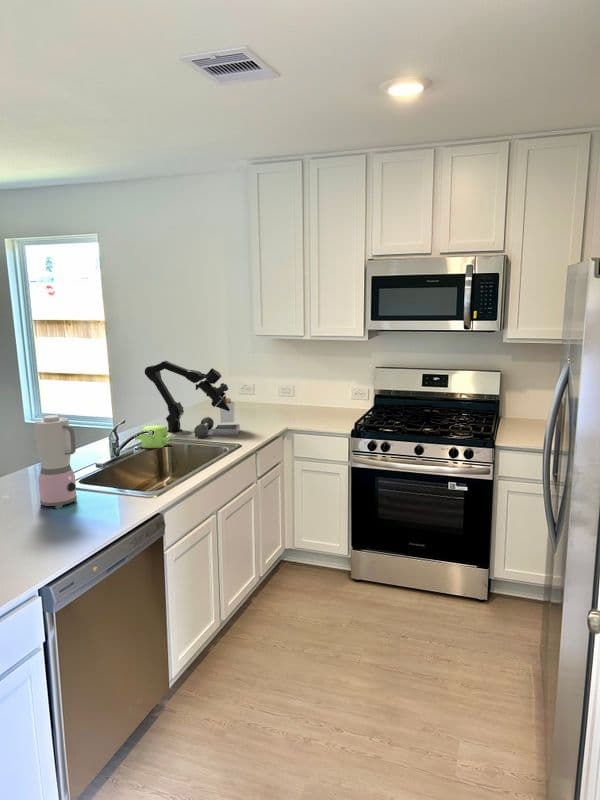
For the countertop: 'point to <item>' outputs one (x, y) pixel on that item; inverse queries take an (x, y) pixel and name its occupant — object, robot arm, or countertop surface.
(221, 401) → the robot arm
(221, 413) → the block
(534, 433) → the countertop surface
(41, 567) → the countertop surface
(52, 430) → the blender
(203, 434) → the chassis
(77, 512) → the countertop surface
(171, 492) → the countertop surface
